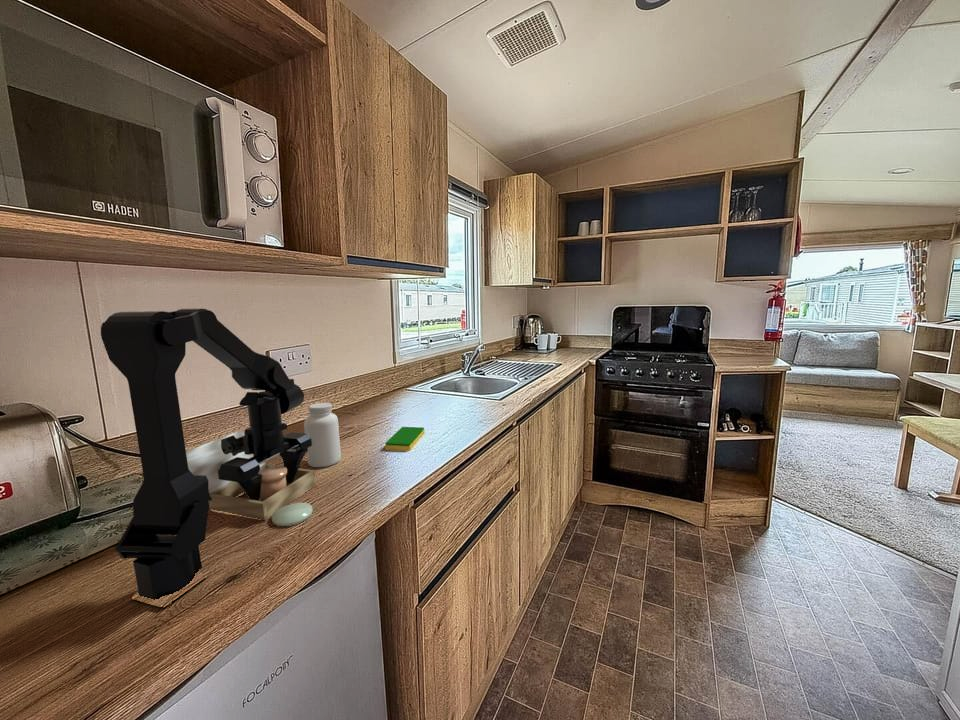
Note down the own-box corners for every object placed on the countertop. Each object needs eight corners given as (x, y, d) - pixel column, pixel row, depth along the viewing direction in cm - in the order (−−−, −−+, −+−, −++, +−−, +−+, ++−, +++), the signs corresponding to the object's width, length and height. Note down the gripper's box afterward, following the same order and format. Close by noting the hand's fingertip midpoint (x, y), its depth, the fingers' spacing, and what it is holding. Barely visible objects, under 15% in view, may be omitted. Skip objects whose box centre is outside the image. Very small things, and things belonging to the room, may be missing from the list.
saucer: (294, 529, 69) (294, 525, 69) (263, 523, 71) (263, 519, 71) (320, 508, 76) (320, 505, 76) (291, 504, 78) (290, 500, 78)
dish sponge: (385, 451, 105) (384, 442, 105) (402, 433, 119) (402, 426, 118) (409, 452, 104) (409, 444, 104) (424, 434, 118) (424, 427, 117)
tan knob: (274, 508, 76) (271, 480, 76) (251, 504, 78) (248, 476, 77) (295, 493, 82) (293, 467, 81) (273, 490, 84) (271, 464, 83)
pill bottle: (340, 453, 103) (336, 399, 101) (341, 465, 96) (337, 407, 93) (308, 458, 100) (303, 403, 98) (307, 470, 93) (301, 411, 91)
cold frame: (264, 521, 72) (258, 464, 70) (184, 507, 77) (176, 454, 75) (316, 485, 86) (312, 437, 84) (245, 475, 91) (239, 429, 89)
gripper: (269, 406, 88) (276, 470, 91) (189, 434, 71) (201, 512, 73) (310, 409, 85) (316, 475, 88) (237, 439, 68) (247, 520, 70)
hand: (273, 493), depth 80 cm, fingers open, 9 cm apart
